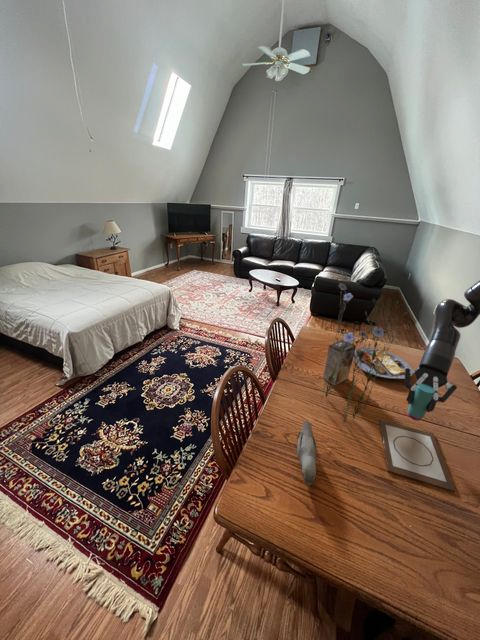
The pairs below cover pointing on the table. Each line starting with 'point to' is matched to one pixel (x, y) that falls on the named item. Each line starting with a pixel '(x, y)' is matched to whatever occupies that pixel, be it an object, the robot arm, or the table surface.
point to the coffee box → (343, 365)
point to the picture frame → (414, 455)
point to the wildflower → (349, 339)
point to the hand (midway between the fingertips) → (418, 407)
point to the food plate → (389, 366)
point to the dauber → (420, 401)
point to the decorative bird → (307, 453)
